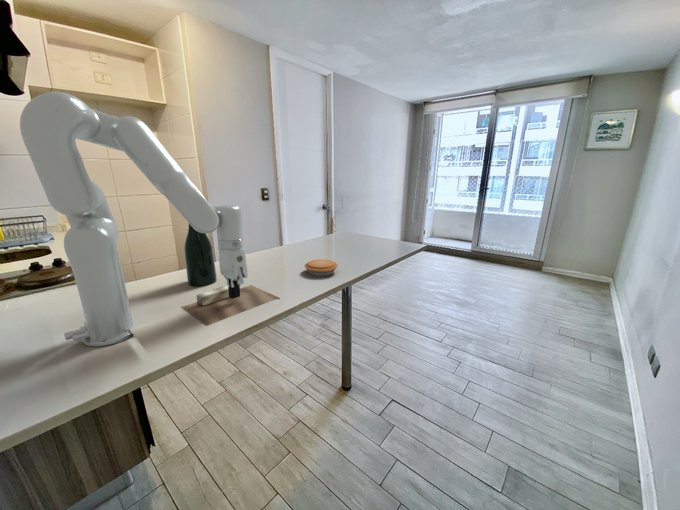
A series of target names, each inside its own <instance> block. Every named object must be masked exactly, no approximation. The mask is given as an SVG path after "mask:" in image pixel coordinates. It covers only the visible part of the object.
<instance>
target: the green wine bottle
mask: <svg viewBox="0 0 680 510" xmlns="http://www.w3.org/2000/svg"><path fill="white" fill-rule="evenodd" d="M212 246H213V245H212V243H211V240H210V238H209V237H208V235H207V234H204V233H200V232H197V231H196V230H194V229H193V227H192V226H191V225H190V224H189V223H188V230H187V234H186V238H185V242H184V246H183V247H184V248H183V249H184V250H183V252H184V261H185V270H186V271H185V272H186V279H187V284H188V286H189V287H193V288H199V287H200V288H201V287H206V286H211V285H214V284H215V283H216V282H217V280H218V279H217V278H218V277H217V271H216V263H215V258H214V257H215V256H214V250H213V247H212Z"/></svg>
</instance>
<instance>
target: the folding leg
mask: <svg viewBox="0 0 680 510" xmlns="http://www.w3.org/2000/svg"><path fill="white" fill-rule="evenodd" d="M221 287H222V286H221ZM228 287H229V286H228V285H226V286H225V287H222V288H219V287H218V288H219V289H216V288H215V289H216V290H213V289H212V290H209V291H206V292H203V293H198V294H196V295H195V296H196V297H195V298H196V302H197V304H198V305H203V306H204V305H207V304H210V303H213V302H216V301H219V300H222V299H225V298H228V297H229V291H228Z"/></svg>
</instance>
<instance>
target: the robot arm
mask: <svg viewBox="0 0 680 510" xmlns="http://www.w3.org/2000/svg"><path fill="white" fill-rule="evenodd" d="M19 118H20V119H19V130H20V133H21V134H20V135H21V137H22V141H23V143H24V147H25V149H26V151H27V153H28V155H29V158H30V160H31V163H32V164H33V167H34V170H35V172H36V174H37V177H38V180H39V181H40V184H41V186H42V189H43V191H44V193H45V196H46V198H47V199H46V200H47V201H48V203H49V205H50V206H51V208H53V209H54V210H55V211H56V212H58V213H59V214H61V215H64V216H65V218H66V219H67V222H68V224H69V226H70V228H69V229H68V230H67V231H66V232H65V234H64V238H63V249H64V252H65V255H66V258H67V260H68V261H69V264H70V267H71V270H72V274H73V276H74V281H75V284H76V288H77V292H78V295H79V299H80V303H81V306H82V311H83V314H84V318H85V322H83V325H84V326H80V327H79V329H75V330H70V331H67V332H64V333H63V336H64V338H65V341H69V340H72V342H75V341H79V340H81V339H82V342H83V344H84V345H85V346H88V347H104V346H108V345H113V344H117V343H119V342H122V341H125V340H127V339H129V338H131V337H133V336H134V334H133V333H132V332H131V329H132V328H133V327H134V321H133V315H132V311H131V308H130V307H131V306H130V302H129V298H128V292H127V287H126V282H125V277H124V273H123V270H122V265H121V261H120V256H119V253H118V249H117V248H118V247H117V243H118V239H119V230H118V227H117V224H116V223H115V222H116V221H115V219H114V216H113V214H112V211H111V208H110V207H109V204H108V201H107V198H106V196H105V194H104V192H103V190H102V189H101V187H100V186H99V185H98V184H97V183H95V181H93V180H91V178H90V176H89V174H88V172H87V169H86V167H85V164H84V160H83V158H82V156H81V153H80V151H79V149H78V147H77V143H76V139H77V140H79V141H84V142H88V143H92V144H96V145H99V146H103V147H106V148H110V149H113V150H117V151H119V152H120V151H121V152H124V154H125V155H126V156H127V157H128V158H129V159H130V160H131V161H132V163H133V164H135V166H136V167H137V168H138V169H139V171H140V172H141V173H142V174H143V175H144V177H146V178H147V180H148V181H149V183H151V184H152V185H153V186H154V188H155V189H156V190H157V191H158V192H159V193H160V194H162V195H163V196H164V197H165V199H167V200H168V201H169V202H170V203H171V204H172V206H174V208H175V209H176V210H177V211H178V212H179V213H180V215H182V217H183V218H184V220H186V222H187V223H188V225H189V224H190V225H191V226H192V227H193V229H194V230H196V231H197V232H200V233H204V234H206V235H207V234H211V233H213V232H215V231H216V234H217V236H216V237H217V249H218V251H219V252H218V253H219V254H218V255H219V256H218V258H219V261H218V262H219V272H220V274H221V276H223V277H224V278H225V280H226V286H229V287H228V291H229V297H230V298H231V299H233V298H237V297H240V288H241V287H240V286H241V285H242V284H245V282H244V278H245V279H247V278H248V277H249V273H248V264H247V258H246V253H245V250H244V241H243V240H244V239H243V236H244V235H243V224H242V223H243V221H242V210H241V207H240V206H238V205H234V204H230V205H229V204H226V205H225V204H223V205H211V204H210V202H209V201H208V200H207V199H206V198H205V196H204V195H203V193H201V191H200V190H199V189H198V188H197V187H196V185H195V184H194V182H192V181H191V179H190V178H189V176H188V175H187V174H186V172H185V171H184V170H183V168H182V167H181V166H180V165H179V164H178V162H177V161H176V160H175V158H174V157H173V156H172V155H171V154H170V152H169V151H168V150H167V149H166V147H165V146H164V145H163V143H162V142H161V141H160V139H159V138H158V137H157V135H155V134H154V132H153V131H152V129H151V128H150V127H149V126H148V125H147V124H146V122H144V121H143V120H142V119H140V118H138V117H136V116H129V115H126V116H121V117H118V116H115V115H112V114H109V113H105V112H102V111H100V110H97V109H94V108H91V107H89V106H88V104H86V103H85V102H84V101H83V100H82V99H80V98H79V97H77V96H75V95H72V94H70V93H67V92H63V91H62V92H61V91H47V92H44V93H41V94H39V95H37V96H36V97H33V98H32V99H31V100H30V101H28V102H27V103H26V104H25V106H24V107H23V110H22V111H21V114H20V117H19Z"/></svg>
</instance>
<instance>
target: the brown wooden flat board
mask: <svg viewBox="0 0 680 510" xmlns="http://www.w3.org/2000/svg"><path fill="white" fill-rule="evenodd" d="M222 287H226V286H225V285H223V286H220V287H216V288H213V289H212V290H216V289H219V288H222ZM276 300H279V301H280V297H279V296H276V295H274V294H272V293H270V292H268V291H265V290H263V289H261V288H258V287H256V286H254V285H251V284H249V285H246V286H243V287H240V297H237V298H233V299H231V298H230V297H228V298H225V299H222V300H219V301H216V302H213V303H210V304H207V305H204V306H203V305H198V304H197V301H196V302H193V303H190V304H186V305H183V306H180V308H181V309H183V311H185V312H187V314H189V315H190V316H192V317H193V318H195V319H196V320H198V321H199V322H200V323H202V324H203V325H204V326H206V327H207V326H210V325H212V324H215V323H218V322H221V321H223V320H225V319H226V320H227V318H231V317H233V316H236V315H238V314H241V313H244V312H246V311H249V310H251V309H254V308H257V307H259V306H262V305H265V304H267V303H270V302H273V301H276Z"/></svg>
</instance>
